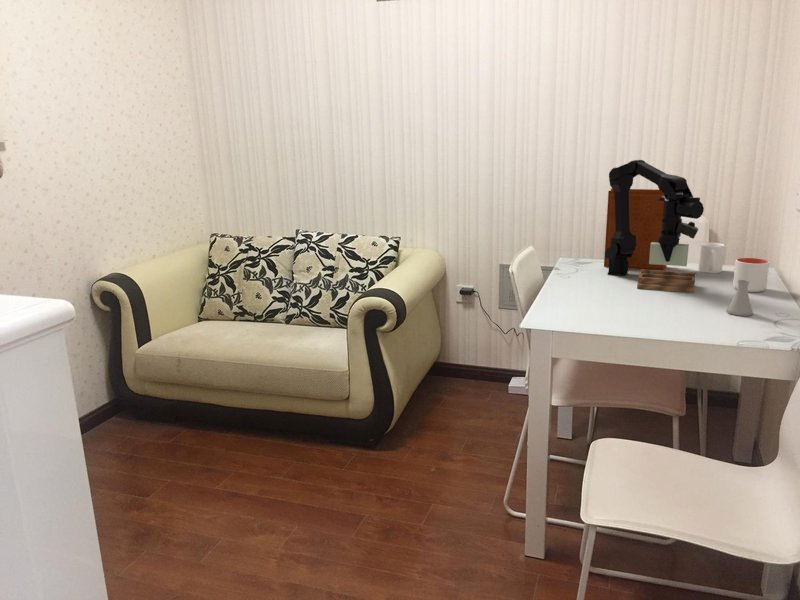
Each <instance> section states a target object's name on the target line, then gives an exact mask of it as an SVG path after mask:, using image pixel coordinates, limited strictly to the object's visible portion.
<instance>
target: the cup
mask: <svg viewBox="0 0 800 600" xmlns="http://www.w3.org/2000/svg"><path fill="white" fill-rule="evenodd" d="M769 267H770V261H769V260H766V259H764V258H763V259H762V258H756V257H755V258H754V257H739V258H736V259H735V264H734V274H733V281H732V282H733V283H732V285H733V288H734V289H735V290H737V288H738V282H737V280H748V281H749V284H748V293H761V292H764V291H766V289H767V284H768V283H767V282H768V277H769V276H768V275H769V270H770V269H769Z"/></svg>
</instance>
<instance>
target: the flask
mask: <svg viewBox="0 0 800 600" xmlns="http://www.w3.org/2000/svg"><path fill="white" fill-rule="evenodd" d="M737 282H738V288H737V289H736V291H735V294H734V295H733V298H732V300H731V301H730V303H729V306H727V308H726V312H727V314H729V315H734V316H739V317H741V316H742V317H743V316H744V317H750V316H752V315H754V312H753V308H752V305H751V301H750V298H749V297H750V296H749V292H748V284H749V281H748V280H737Z"/></svg>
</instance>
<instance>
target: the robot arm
mask: <svg viewBox="0 0 800 600" xmlns="http://www.w3.org/2000/svg"><path fill="white" fill-rule="evenodd" d="M638 176H641V177H643V178H645V179H646V180H648V181H650V182H652V183H653V184H655V185H657V188H658V190H660V191H662V192H663V193H664V195H663V196H662V197H661V198H660V199H659V200H660V201H664V209H663V218H662V230H661V235H660V237H659V243H660V246H661V248H662V251H663V254H664V257H665V260H666V262H669V261H670V258H671V254H672V251H673V248H674V247H675V246H676V245H678V244H680V239H681V238H680V237H681V235H684V236H687V237H689V238H690V239H694V240H695V237H696V235H697V234H698V232H699V228H698V227H697V226H696V224H695V222H693V221H690V222H688V223H687V222H683V218H686V219H687V218H689V219H696V220H697V219H700V218H701V217H702V215H703V214H704V209H705V207H704V203H702V201H701V197H694V195H693V194H692V191H691V189H690V187H689V185H688V183H687V179H686V177H682V176H679V175H677V174H676V175H674V174H668V173H666V172H664V171H662V170H660V169H659V168H656V167H655V166H653V165H651V164H650V163H648V162H646V161H645V160H644V159H633V160H631V161H628V163H625V164H622V165H620V166H618V167H613V168H612V169H610V171H609V172H608V180H609V186H610V187H611V189H613V191H614V193H615V227H616V231H615V233H614V235H613V237H612V240H611V246H610V247H609V248H608V249H607V250H606V252H605V251H604V256H605V257H606V258H609V267H608V272H607V275H611V276H627V274H628V273H629V269H628V267H629V262H628V261H627V258H629V257H630V258H631V257H632V254H633V251H635V246H637V245H636V236H635V235H632V233H631V232H630V224H629V190H630V189H632V186H633V184H634V178H635V177H638Z"/></svg>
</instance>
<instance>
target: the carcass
mask: <svg viewBox="0 0 800 600" xmlns="http://www.w3.org/2000/svg"><path fill="white" fill-rule="evenodd" d="M696 274H697V273H696V272H688V271H674V270H664V271H660V270H645V269H640V273H639V275H638V277H637V278H638V279H637V286H636V287H637V288H636V289H637V290H638V289H639V290H654V291H664V292H665V291H667V292H678V293H679V292H680V293H691V294H695V285H696Z"/></svg>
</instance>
